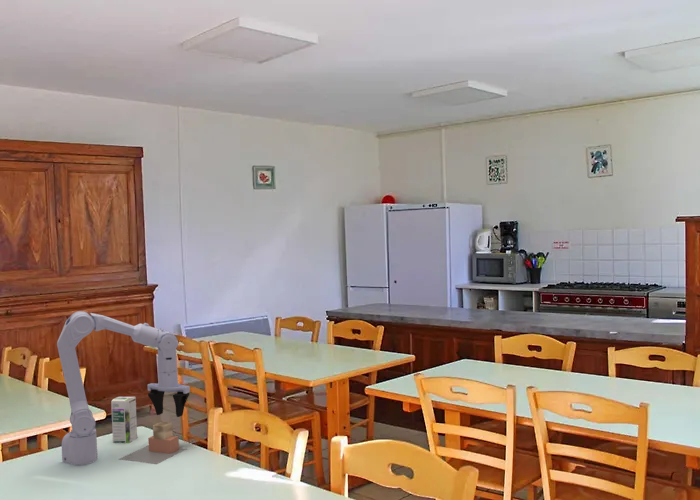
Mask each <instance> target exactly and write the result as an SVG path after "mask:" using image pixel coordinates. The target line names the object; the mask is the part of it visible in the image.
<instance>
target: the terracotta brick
mask: <svg viewBox="0 0 700 500" xmlns="http://www.w3.org/2000/svg"><path fill="white" fill-rule="evenodd" d="M147 442H148V445H149V451H152V452H160V453H168V454H171V453H173V452H175V451H177V450H179V448H180V441H179V435H178V436H177V435H173V436H172V437H169V438H167V439H165V440H161V439H153V435H152V436H150V437H148V441H147Z"/></svg>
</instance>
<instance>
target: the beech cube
mask: <svg viewBox="0 0 700 500" xmlns="http://www.w3.org/2000/svg"><path fill="white" fill-rule="evenodd" d="M173 433H174V430H173V422H171V421H170V422H168V421H160V422H157V423H155V424H153V425H152V436H153V439H161V440H165V439H167V438H169V437H172V436H174V434H173Z"/></svg>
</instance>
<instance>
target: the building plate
mask: <svg viewBox="0 0 700 500" xmlns="http://www.w3.org/2000/svg"><path fill="white" fill-rule="evenodd" d="M186 450H187V448H186V447H185V448H184V447H179V450H177V451H175V452H173V453H171V454H168V453H160V452H152V451H149V444H148V445H146V446H144V447H142V448H141V447H140V449H137V450H134V451H133V452H130V453H129V454H126V455H124V456H122V457H120V458H119V460H120V461H122V460H123V461H130V462H135V463H145V464H150V465H159V464H160V463H162V462H164V461H167V460H168V459H170V458H172V457H175V456H177V455H178V454H180V453H182V452H185V451H186Z"/></svg>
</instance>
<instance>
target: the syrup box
mask: <svg viewBox="0 0 700 500" xmlns="http://www.w3.org/2000/svg"><path fill="white" fill-rule="evenodd" d="M136 401H137V398H136V396H117V397H115V398H113V399H112V400H111V402H110V408H111V421H112V422H111V425H112V426H111V427H112V443H113V444H130V443H132V442H133V441H135V440H136V439H137V438H138V428H137V427H138V426H137V425H138V424H137V422H138V421H137V402H136Z"/></svg>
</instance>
